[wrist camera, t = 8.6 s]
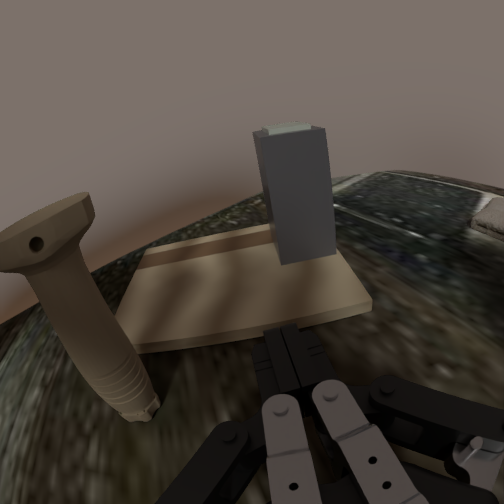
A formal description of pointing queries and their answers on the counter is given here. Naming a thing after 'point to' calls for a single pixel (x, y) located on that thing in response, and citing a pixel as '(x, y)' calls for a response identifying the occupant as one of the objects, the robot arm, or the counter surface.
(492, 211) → the washcloth
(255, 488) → the counter surface
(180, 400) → the counter surface
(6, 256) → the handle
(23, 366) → the counter surface
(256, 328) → the subfloor panel
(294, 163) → the grey tall block
